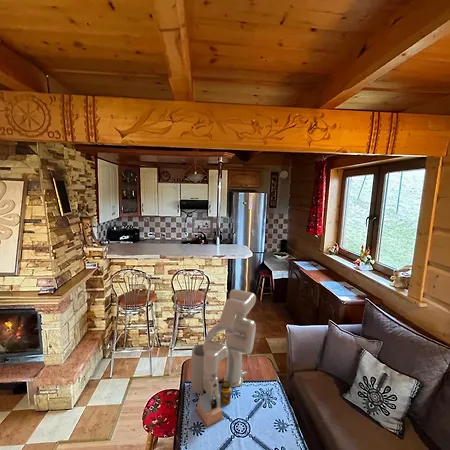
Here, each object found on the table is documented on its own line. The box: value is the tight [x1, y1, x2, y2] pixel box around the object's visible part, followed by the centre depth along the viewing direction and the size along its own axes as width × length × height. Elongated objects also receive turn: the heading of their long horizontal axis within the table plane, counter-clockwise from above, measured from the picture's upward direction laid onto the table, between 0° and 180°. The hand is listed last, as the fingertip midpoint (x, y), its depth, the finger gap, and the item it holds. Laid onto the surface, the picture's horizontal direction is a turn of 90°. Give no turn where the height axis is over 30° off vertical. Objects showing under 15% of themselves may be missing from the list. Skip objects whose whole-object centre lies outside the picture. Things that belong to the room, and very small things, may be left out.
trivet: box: [194, 408, 225, 429], centre depth 147 cm, size 11×14×1 cm
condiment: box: [219, 380, 232, 406], centre depth 156 cm, size 7×8×12 cm
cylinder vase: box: [190, 343, 204, 395], centre depth 166 cm, size 12×12×25 cm
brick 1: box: [198, 393, 221, 414], centre depth 146 cm, size 10×6×6 cm, turn 122°
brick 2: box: [196, 400, 223, 426], centre depth 146 cm, size 12×9×5 cm
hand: (209, 402), depth 146 cm, fingers open, 9 cm apart
